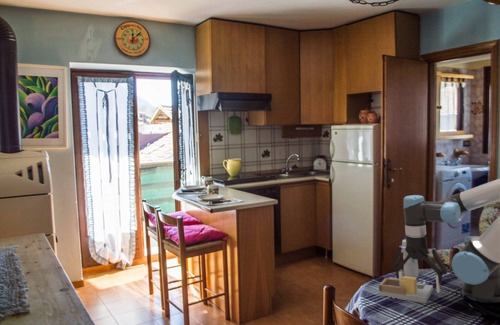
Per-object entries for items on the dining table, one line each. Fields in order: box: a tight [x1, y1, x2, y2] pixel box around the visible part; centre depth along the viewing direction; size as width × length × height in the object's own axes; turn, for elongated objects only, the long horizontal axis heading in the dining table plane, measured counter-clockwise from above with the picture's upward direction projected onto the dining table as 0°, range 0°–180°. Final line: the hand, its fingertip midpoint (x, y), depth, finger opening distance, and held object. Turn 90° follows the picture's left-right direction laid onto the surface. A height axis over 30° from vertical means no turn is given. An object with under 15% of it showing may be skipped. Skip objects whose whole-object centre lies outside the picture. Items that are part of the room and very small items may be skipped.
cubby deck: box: [377, 277, 434, 304], centre depth 161 cm, size 18×14×4 cm
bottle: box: [401, 234, 420, 279], centre depth 177 cm, size 7×7×20 cm
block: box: [401, 275, 418, 294], centre depth 157 cm, size 5×5×5 cm
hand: (419, 289), depth 155 cm, fingers open, 13 cm apart
